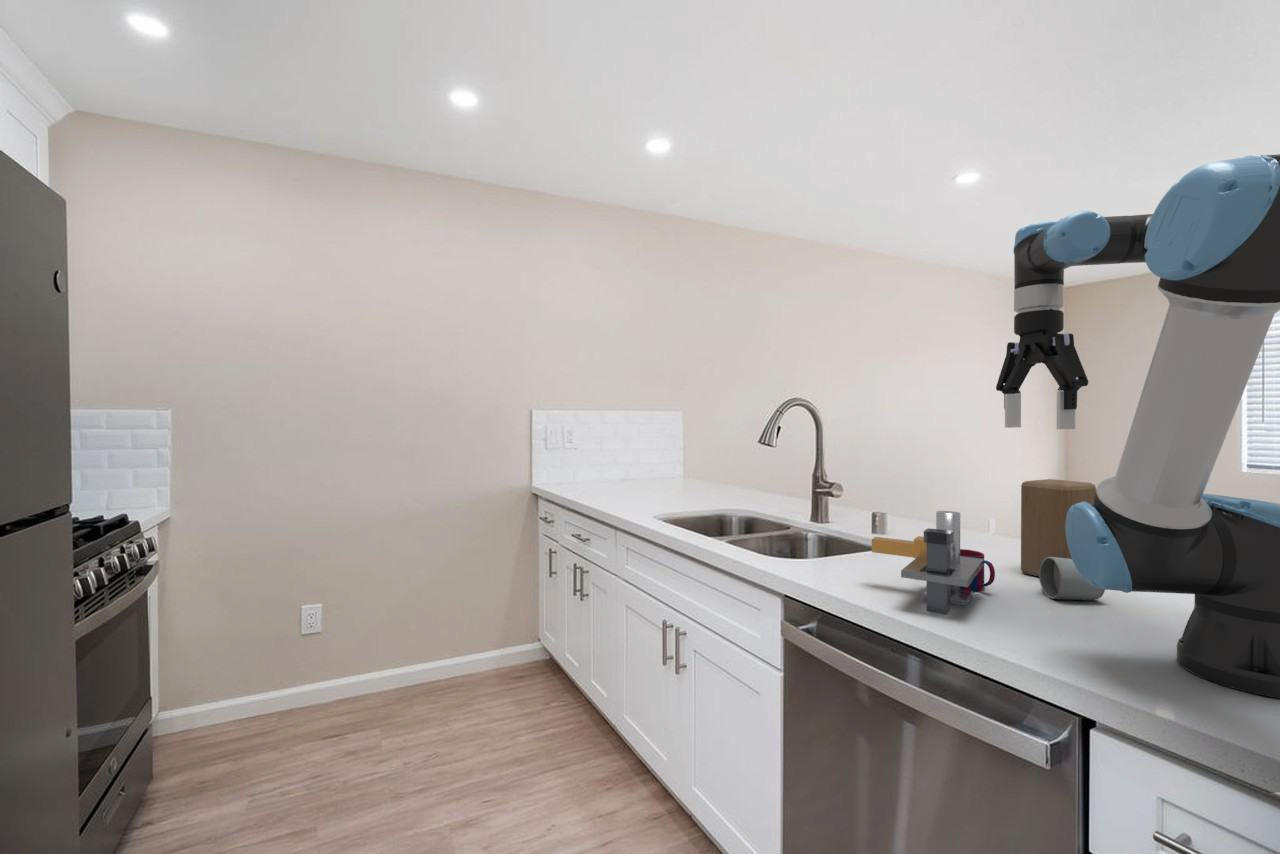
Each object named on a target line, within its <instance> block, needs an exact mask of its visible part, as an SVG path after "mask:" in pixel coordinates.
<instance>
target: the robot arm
mask: <svg viewBox="0 0 1280 854" xmlns="http://www.w3.org/2000/svg"><path fill="white" fill-rule="evenodd" d="M1012 249H1013V255H1014V256H1013V258H1014V261H1013V262H1014V267H1013V268H1014V269H1013V270H1014V274H1013V275H1014V276H1013V277H1014V282H1013V283H1014V290H1013V311H1014V312H1016V313H1017V314H1015V315H1014V317H1013V323H1014V324H1013V333H1014V335H1017V336H1019V341H1017V342H1016V341H1015V342H1013V341H1011V342H1008V343H1007V344H1006V353H1005V358H1004V360H1003V363H1002V364H1003V365H1002V367H1001V370H1000V373H999V377H998V379H997V383H996V385H995V389H996V392H1001V393H1002V394H1003V399H1004V401H1003V408H1004V428H1008V429H1009V428H1021V427H1022V392H1021V391H1020V389H1021V386H1022V385H1023V383H1024V381H1025V380H1026V378H1027V376H1028V374H1029V373H1030V371H1031V369H1032V368H1033V367H1034V366H1036V365H1038V364H1044V365H1045V366H1046V368H1047V369H1048V371H1049V372H1050V374H1051V375H1052V377H1053V379H1054V380H1055V382H1056V384H1057V385H1058V386H1059V387H1058V388H1057V391H1056V430H1076V410H1077V408H1078V391H1079V390H1080V389H1081V388H1082V387H1087V386H1088V385H1089V380H1088V377H1087V375H1086V371H1085V369H1084V367H1083V365H1082V362H1081V359H1080V357H1079V354H1078V351H1077V349H1076V347H1075V340H1074V339H1075V336H1074V334H1073V333H1061V332H1063V331H1064V326H1065V325H1064V324H1065V323H1064V317H1065V316H1064V315H1065V314H1064V312H1063V310H1060V309H1062V308H1063V307H1064V285H1065V283H1064V282H1065V281H1064V280H1065V279H1064V277H1065V270H1066V269H1068V268H1070V267H1075V266H1076V267H1078V266H1080V267H1081V266H1099V265H1101V266H1102V265H1116V264H1117V265H1119V264H1133V263H1135V264H1137V263H1139V264H1141V263H1145V264H1146V266H1147V268H1148V269H1149V271H1150V272H1151V273H1152V274H1153V275H1154V276H1156V277H1158V278H1159V281H1158V284H1157V289H1158V291H1159V292H1160V293H1161V294H1162V295H1163V296H1164V297H1165V298H1166V299H1167V301H1168V303H1169V305H1168V308H1167V311H1166V314H1165V318H1164V321H1163V324H1162V327H1161V330H1160V333H1159V337H1158V339H1157V342H1156V347H1155V350H1154V353H1153V356H1152V359H1151V361H1150V365H1149V368H1148V372H1147V375H1146V379H1145V381H1144V385H1143V388H1142V390H1141V394H1140V397H1139V400H1138V404H1137V406H1136V410H1135V413H1134V416H1133V419H1132V423H1131V426H1130V429H1129V432H1128V435H1127V438H1126V441H1125V444H1124V448H1123V451H1122V454H1121V457H1120V461H1119V463H1118V467H1117V469H1116V473H1115V476H1112V477H1109V478H1106V479H1103V480H1102V481H1100V482H1099V483H1098V485H1096V486H1097V487H1096V493H1095V496H1094V499H1093V502H1091V503H1087V502H1081V503H1077V504H1075V505H1073V506H1071V507H1070V509H1069V510H1068V513H1067V516H1066V525H1065V529H1066V539H1067V544H1068V548H1069V551H1070V555H1071V557H1072V560H1073V562H1074V564H1075V566H1076V568H1077V570H1078V571H1079V573H1080V574H1081V576H1082V577H1083V578H1084V579H1085V580H1086V581H1087V582H1088V583H1090V584H1091V585H1093V586H1094V587H1097V588H1100V589H1105V591H1117V592H1123V593H1125V594H1126V593H1127V594H1128V593H1133V592H1134V593H1135V592H1141V593H1160V594H1161V593H1165V594H1183V595H1184V594H1185V595H1194V607H1193V609H1192V612H1191V614H1190V616H1189V618H1188V620H1187V622H1186V625H1185V627H1184V630H1183V634H1182V637H1180V638H1179V639H1178V641H1177V643H1176V661H1177V663H1178V664H1179V665H1180V666H1181V667H1182V668H1184V669H1185V670H1187V671H1189V672H1190V673H1191V674H1194V675H1197V676H1199V677H1201V678H1204V679H1206V680H1208V681H1211V682H1214V683H1217V684H1220V685H1223V686H1226V687H1230V688H1232V689H1236V690H1239V691H1244V692H1247V693H1251V694H1257V695H1261V696H1266V697H1270V698H1276V699H1280V503H1277V502H1271V501H1263V500H1256V499H1251V498H1250V499H1249V498H1243V497H1235V496H1228V495H1222V494H1221V495H1220V494H1213V493H1204V492H1205V491H1206V490H1205V489H1206V487H1207V484H1208V482H1209V481H1210V480H1209V479H1210V477H1211V475H1212V472H1213V469H1214V467H1215V464H1216V462H1217V460H1218V457H1219V455H1220V452H1221V449H1222V447H1223V444H1224V442H1225V440H1226V438H1227V437H1226V436H1227V435H1228V432H1229V429H1230V427H1231V424H1232V421H1233V419H1234V417H1235V414H1236V412H1237V409H1238V407H1239V404H1240V402H1241V400H1242V396H1243V394H1244V391H1245V389H1246V387H1247V384H1248V382H1249V379H1250V377H1251V374H1252V372H1253V370H1254V368H1255V364H1256V362H1257V359H1258V356H1259V354H1260V352H1261V349H1262V347H1263V345H1264V341H1265V339H1266V337H1267V335H1268V332H1269V329H1270V327H1271V324H1272V322H1273V318H1274V316H1275V314H1276V313H1278V312H1280V154H1279V153H1278V154H1264V155H1263V154H1258V155H1246V156H1244V157H1237V158H1230V159H1225V160H1223V159H1222V160H1217V161H1212V162H1208V163H1204V164H1202V165H1200V166H1198V167H1196V168H1193V169H1192V170H1190V171H1188V172H1187V173H1185V175H1183V176H1182V177H1181V178H1180V179H1179V180H1178V181H1177V182H1175V183H1174V184H1173V185H1172V186H1171V187H1170V188H1169V189H1168V191H1167V192H1166V193H1165V194H1164V195H1163V196H1162V198H1161V200H1160V201H1159V203H1158V204H1157V205H1156V207H1155V209H1154V211H1153V213H1147V214H1134V215H1116V216H1115V215H1114V216H1103V215H1102V214H1098V213H1097V212H1094V211H1092V210H1091V211H1090V210H1082V211H1076V212H1074V213H1072V214H1069V215H1066V216H1065V217H1063V218H1061V219H1059V220H1057V221H1041V222H1035V223H1031V224H1029V225H1026V226H1023V227H1020V228H1019V229H1018V230H1017V231H1016V232H1015V237H1014V246H1013V248H1012Z"/></svg>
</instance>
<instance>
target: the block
mask: <svg viewBox="0 0 1280 854" xmlns="http://www.w3.org/2000/svg"><path fill="white" fill-rule="evenodd" d="M1020 488H1021V490H1020V493H1021V494H1020V495H1021V497H1020V499H1021V500H1020V501H1021V502H1020V503H1021V505H1020V506H1021V507H1020V514H1021V515H1020V571H1021V573H1023V574H1025V575H1028V574H1029V575H1028V576H1032V575H1034V576H1033V577H1036V576H1038V577H1037V578H1040V577H1039V571H1040V566H1041V563H1042V562H1043V560H1044V559H1045V558H1047V557H1058V558H1068V559H1072V557H1071V555H1070V551H1069V548H1068V544H1067V539H1066V529H1065V525H1066V516H1067V513H1068V510H1069V509H1070V507H1071V506H1073V505H1075V504H1077V503H1081V502H1087V503H1091V502H1093V499H1094V496H1095V493H1096V489H1097V487H1096V485H1095V484H1094V483H1092V482H1085V481H1074V480H1064V479H1055V478H1048V479H1037V480H1027V481H1022V483H1021V485H1020Z"/></svg>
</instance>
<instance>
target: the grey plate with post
mask: <svg viewBox="0 0 1280 854" xmlns="http://www.w3.org/2000/svg"><path fill="white" fill-rule="evenodd" d="M935 513H936V516H935V518H936V520H935V523H936V526H935V529H939V530H949V531H954V543H952V544H951V557H950V576H948V575H941V574H934V573H927V543H924V536H916V537H915V538H914V539H913V540H908V539H898V538H889V537H879V536H874V537H873V538H871V552H872V553H876V554H883V555H892V556H898V557H904V558H905V557H906V558H912V561H911V562H909V564H907V565H906V566H905V567H904V568H902V569H901V570H900V578H902V579H903V578H904V579H911V580H915V581H916V580H917V581H923V582H924V581H925V582H927V581H929V582H936V583H943V584H949V585H950V604H953V605H958V606H964V607H965V606H967V604H968V603H969V602H970V600H971V598H972V597H973V591H969V590H963V589H960V586H962V587H968V586H969V585H970V583H971V582H972V581H973V579H974V578H975V577H976V575H977V574H978V573H979V571H980V570H981V568H982V567H983V566H984V567H985V563H984V560H985V558H984V559H979V558H971V557H963V556H960V549H961V513H960V511H952V510H937V511H935ZM926 592H927V589H926V590H925V591H924V592H923V600H926Z"/></svg>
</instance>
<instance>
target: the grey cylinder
mask: <svg viewBox="0 0 1280 854" xmlns="http://www.w3.org/2000/svg"><path fill="white" fill-rule="evenodd" d="M1038 578H1039V583H1040V586H1041V589H1042V591H1043V593H1044V594H1045V596H1046V597H1047V598H1049V599H1050V600H1051V599H1052V600H1066V601H1067V600H1069V601H1071V600H1072V601H1073V600H1074V601H1075V600H1076V601H1077V600H1078V601H1093V600H1099V599H1100V598H1101V597H1102V596H1103V595H1104V594H1105V591H1106V589H1100V588H1097V587H1094V586H1093V585H1091V584H1090V583H1088V582H1087V581H1086V580H1085V579H1084V578H1083V577H1082V576H1081V574H1080V573H1079V571H1078V570H1077V568H1076V566H1075V564H1074V562H1073V560H1072V559H1068V558H1058V557H1047V558H1045V559H1044V560H1043V562H1042V563H1041V566H1040V571H1039V577H1038Z"/></svg>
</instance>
